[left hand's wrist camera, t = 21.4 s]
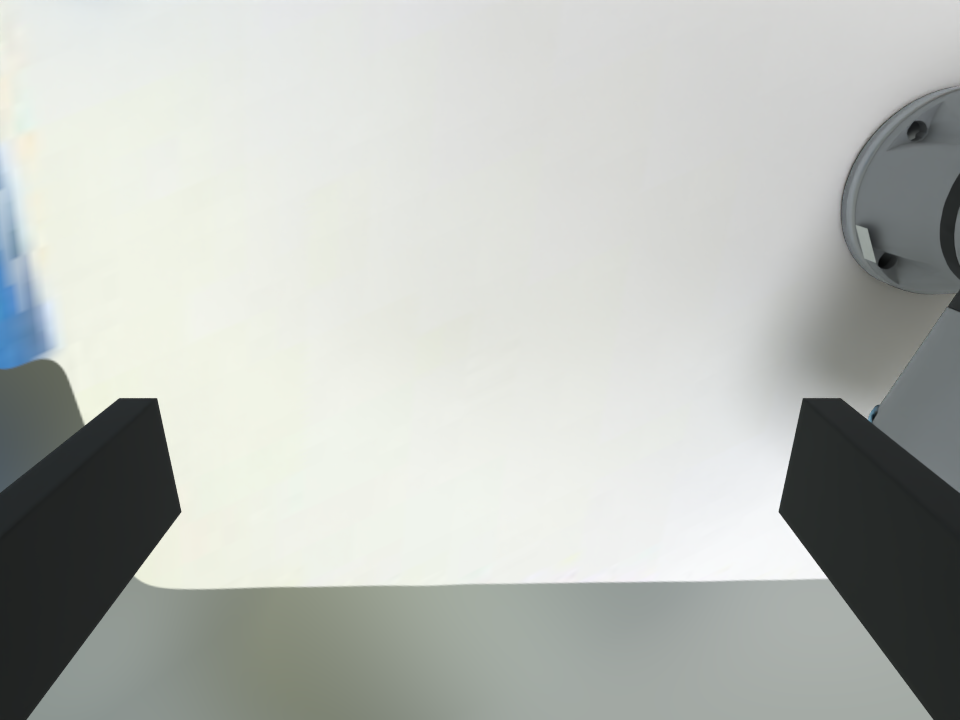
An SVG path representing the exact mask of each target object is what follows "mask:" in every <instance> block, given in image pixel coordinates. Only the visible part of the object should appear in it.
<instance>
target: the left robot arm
mask: <svg viewBox="0 0 960 720" xmlns="http://www.w3.org/2000/svg"><path fill="white" fill-rule="evenodd" d="M841 215H842V227H843V233H844V237H845V240H846V243H847V245H848V248H849V250H850V252H851V254H852V255H853V257H854V258H855V260H856V261H857V262H858V264H859V265H860V266H861V267H862V268H863V269H864V270H865V271H867V272H868V273H869V274H870V275H872V276H873V277H875V278H876V279H878V280H880V281H882V282H884V283H887V284H889V285H892V286H894V287H896V288H899V289H902V290H905V291H908V292H913V293H919V294H950V293H957V294H956V296H955V297H954V298H953V300H952V301H951V303H950V304H949V306H948V307H947V308H946V309H945V311H944V312H943V314H942V315H941V317H940V318H939V319H938V321H937V322H936V324H935V325H934V327H933V328H932V330H931V331H930V333H929V334H928V336H927V337H926V338H925V340H924V341H923V343H922V344H921V346H920V347H919V349H918V350H917V352H916V353H915V355H914V356H913V357H912V359H911V360H910V362H909V363H908V365H907V366H906V368H905V369H904V371H903V372H902V374H901V375H900V376H899V378H898V379H897V381H896V382H895V384H894V385H893V387H892V388H891V390H890V391H889V393H888V394H887V395H886V397H885V398H884V400H883V401H882V403H881V404H880V405H877V406H875V407H874V409H873V410H872V411H871V413H870V415H869V418H868V420H867V419H866V418H865V417H863V416H862V415H861V414H860V413H858V412H857V411H856V410H855V409H853V408H852V407H851V406H850V405H848V404H847V403H846V402H845V401H843V400H842V399H841V398H803V400H802V405H801V410H800V414H799V419H798V424H797V428H796V433H795V438H794V442H793V447H792V452H791V456H790V461H789V466H788V470H787V475H786V480H785V484H784V489H783V494H782V498H781V503H780V508H779V513H780V514H781V516H782V517H783V518H784V520H785V521H786V522H787V524H788V525H789V526H790V528H791V529H792V530H793V532H794V533H795V535H796V536H797V537H798V539H799V540H800V541H801V543H802V544H803V545H804V547H805V548H806V549H807V551H808V552H809V553H810V555H811V556H812V557H813V559H814V560H815V561H816V563H817V564H818V565H819V567H820V568H821V569H822V571H823V572H824V573H825V575H826V576H827V577H828V579H829V580H830V581H831V583H832V584H833V585H834V587H835V588H836V589H837V591H838V592H839V594H840V595H841V596H842V598H843V599H844V600H845V602H846V603H847V604H848V606H849V607H850V608H851V610H852V611H853V612H854V614H855V615H856V616H857V618H858V619H859V620H860V622H861V623H862V624H863V626H864V627H865V628H866V630H867V631H868V632H869V634H870V635H871V636H872V638H873V639H874V640H875V642H876V643H877V644H878V646H879V647H880V649H881V650H882V651H883V653H884V654H885V655H886V657H887V658H888V659H889V661H890V662H891V663H892V665H893V666H894V667H895V669H896V670H897V671H898V673H899V674H900V675H901V677H902V678H903V679H904V681H905V682H906V683H907V685H908V686H909V687H910V689H911V690H912V691H913V693H914V694H915V695H916V697H917V698H918V699H919V701H920V702H921V703H922V705H923V706H924V707H925V709H926V710H927V712H928V713H929V714H930V716H931V717H932V718H933V720H960V86H957V87H951V88H947V89H943V90H939V91H936V92H933V93H931V94H928V95H926V96H924V97H922V98H920V99H917V100H916V101H914V102H912V103H910V104H909V105H907V106H905V107H904V108H903V109H901V110H900V111H898V112H897V113H896V114H894V115H893V116H892V117H891V118H890V119H888V120H887V121H886V122H885V123H884V124H883V125H882V126H881V127H880V128H879V129H878V130H877V131H876V132H875V134H874V135H873V136H872V137H871V138H870V140H869V141H868V142H867V144H866V145H865V146H864V148H863V149H862V151H861V152H860V154H859V156H858V158H857V159H856V161H855V163H854V165H853V167H852V170H851V172H850V174H849V177H848V180H847V183H846V186H845V190H844V194H843V201H842V214H841ZM180 513H181V508H180V503H179V498H178V494H177V489H176V484H175V480H174V475H173V470H172V466H171V461H170V456H169V452H168V447H167V442H166V438H165V433H164V428H163V424H162V419H161V414H160V410H159V405H158V400H157V398H119V399H118V400H117V401H115V402H114V403H113V404H112V405H110V406H109V407H108V408H107V409H105V410H104V411H103V412H102V413H100V414H99V415H98V416H97V417H95V418H94V419H93V420H91V421H90V422H89V423H88V424H86V425H85V426H84V427H83V428H81V429H80V430H79V431H78V432H76V433H75V434H74V435H73V436H71V437H70V438H69V439H68V440H66V441H65V442H64V443H63V444H61V445H60V446H59V447H58V448H56V449H55V450H54V451H53V452H51V453H50V454H49V455H47V456H46V457H45V458H44V459H43V460H41V461H40V462H39V463H37V464H36V465H35V466H34V467H32V468H31V469H30V470H29V471H27V472H26V473H25V474H24V475H22V476H21V477H20V478H19V479H17V480H16V481H15V482H14V483H12V484H11V485H10V486H9V487H7V488H6V489H5V490H4V491H2V492H1V493H0V720H27V718H28V717H29V716H30V714H31V713H32V712H33V710H34V709H35V707H36V706H37V705H38V703H39V702H40V701H41V699H42V698H43V697H44V695H45V694H46V693H47V691H48V690H49V689H50V687H51V686H52V685H53V683H54V682H55V681H56V679H57V678H58V677H59V675H60V674H61V673H62V671H63V670H64V669H65V667H66V666H67V665H68V663H69V662H70V661H71V659H72V658H73V657H74V655H75V654H76V653H77V651H78V650H79V648H80V647H81V646H82V644H83V643H84V642H85V640H86V639H87V638H88V636H89V635H90V634H91V632H92V631H93V630H94V628H95V627H96V626H97V624H98V623H99V622H100V620H101V619H102V618H103V616H104V615H105V614H106V612H107V611H108V610H109V608H110V607H111V606H112V604H113V603H114V602H115V600H116V599H117V598H118V596H119V595H120V593H121V592H122V591H123V589H124V588H125V587H126V585H127V584H128V583H129V581H130V580H131V579H132V577H133V576H134V575H135V573H136V572H137V571H138V569H139V568H140V567H141V565H142V564H143V563H144V561H145V560H146V559H147V557H148V556H149V555H150V553H151V552H152V551H153V549H154V548H155V547H156V545H157V544H158V543H159V541H160V540H161V539H162V537H163V536H164V535H165V533H166V532H167V530H168V529H169V528H170V526H171V525H172V524H173V522H174V521H175V520H176V518H177V517H178V516H179V514H180Z"/></svg>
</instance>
